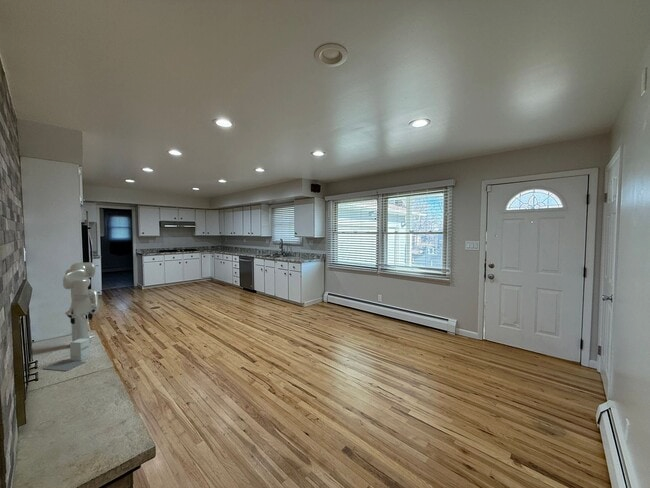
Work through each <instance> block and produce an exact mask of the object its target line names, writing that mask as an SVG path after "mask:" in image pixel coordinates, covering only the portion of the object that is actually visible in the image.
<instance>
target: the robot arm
mask: <svg viewBox="0 0 650 488" xmlns="http://www.w3.org/2000/svg"><path fill="white" fill-rule="evenodd" d="M96 270H97V269H96V264H95V263H94V262H89V261H88V262H76V263H73V264H71V265H70V269H67V270H66V271H65V273H64V274H65V275H64V276H63V279H62V286H63V288H64V289H66V290H70V297H71V303H70V307H69V310H67V311H65V313H64V314H65V315H66V317H68V318H69V320H70V324H71V342H73V341H75V340H78V339H89V344H90V343H92V339H93V338H95V334H93V335H89V322H88V320H89V321H92V320H93V315H95V314H97V313H99V310H100V305H99V302H100V301H99V294H98V291H97V290H96V289H93V288H90V289H89V287H90V285H91V279H90V278H93V277H94V276H95V274H96ZM85 316H88V317H87V318H88V319H87V318H86V317H85Z"/></svg>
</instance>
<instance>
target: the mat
mask: <svg viewBox="0 0 650 488" xmlns="http://www.w3.org/2000/svg"><path fill="white" fill-rule="evenodd" d="M86 363H87V362H86V361H82V360H81V361H71V360H67V359H63V360H60V361H58V362H56V363H53V364H50V365H47V366H46V367H45V366H44V367H43V368H42V369H43V370H48V371H49V370H50V371H59V372H68V371H70V370H72V369H75V368H78V367H80V366H82V365H83V364H86Z"/></svg>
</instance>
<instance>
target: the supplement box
mask: <svg viewBox="0 0 650 488" xmlns="http://www.w3.org/2000/svg"><path fill="white" fill-rule="evenodd" d="M69 350H70V351H69V353H70V354H69V357H70V358H69V359H70V361H81V362H82V361H83V360H85V359H87V358H89V357H90V354H91V353H90V351H91V349H90V343H89V339H78V340H75V341H73V342H72V341H71V342H69Z"/></svg>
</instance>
